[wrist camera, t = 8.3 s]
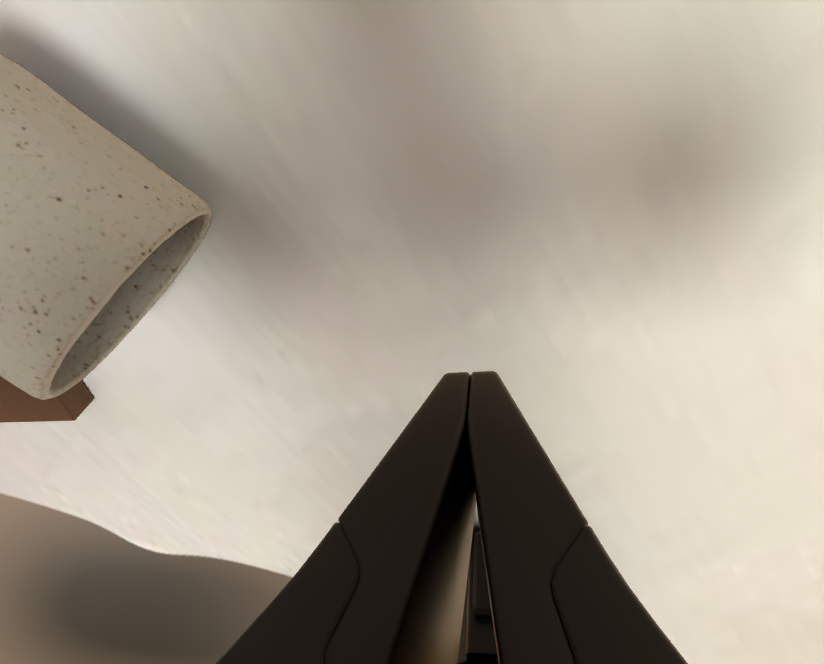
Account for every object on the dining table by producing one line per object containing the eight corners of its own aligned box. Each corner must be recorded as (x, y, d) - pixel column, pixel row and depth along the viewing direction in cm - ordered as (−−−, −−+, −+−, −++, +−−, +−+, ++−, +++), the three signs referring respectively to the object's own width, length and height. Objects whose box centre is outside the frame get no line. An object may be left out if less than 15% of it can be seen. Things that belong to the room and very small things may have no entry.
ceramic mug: (-1, -12, 15) (-342, 20, 9) (244, 173, 17) (107, 298, 11) (-54, 235, 21) (-285, 357, 15) (137, 349, 23) (7, 495, 17)
